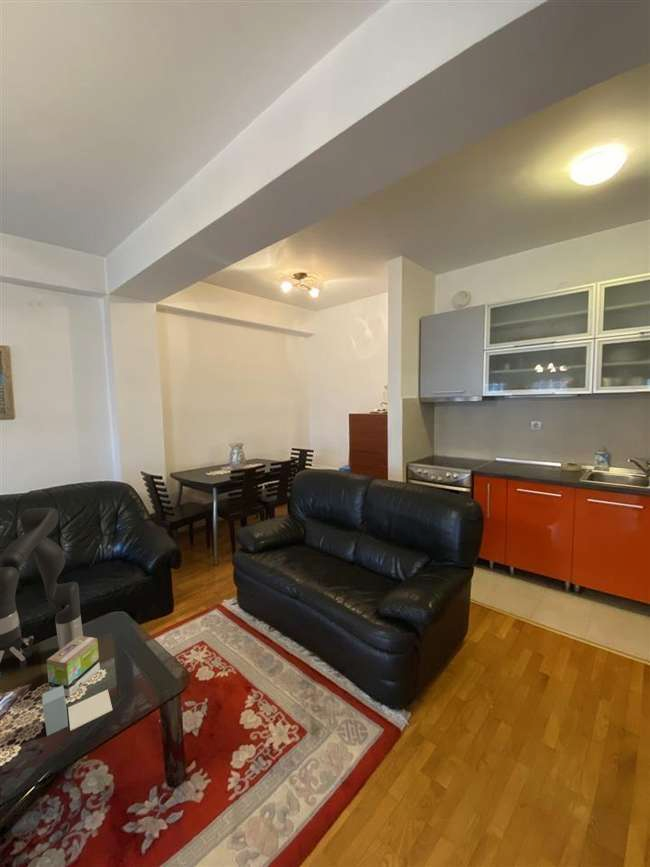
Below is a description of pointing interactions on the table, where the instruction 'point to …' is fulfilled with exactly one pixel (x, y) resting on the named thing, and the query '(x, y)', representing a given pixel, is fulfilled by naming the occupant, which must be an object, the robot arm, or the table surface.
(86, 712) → the felt mat
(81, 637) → the tea box
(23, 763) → the table surface
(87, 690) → the table surface
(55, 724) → the pale blue-gray rectangular block
